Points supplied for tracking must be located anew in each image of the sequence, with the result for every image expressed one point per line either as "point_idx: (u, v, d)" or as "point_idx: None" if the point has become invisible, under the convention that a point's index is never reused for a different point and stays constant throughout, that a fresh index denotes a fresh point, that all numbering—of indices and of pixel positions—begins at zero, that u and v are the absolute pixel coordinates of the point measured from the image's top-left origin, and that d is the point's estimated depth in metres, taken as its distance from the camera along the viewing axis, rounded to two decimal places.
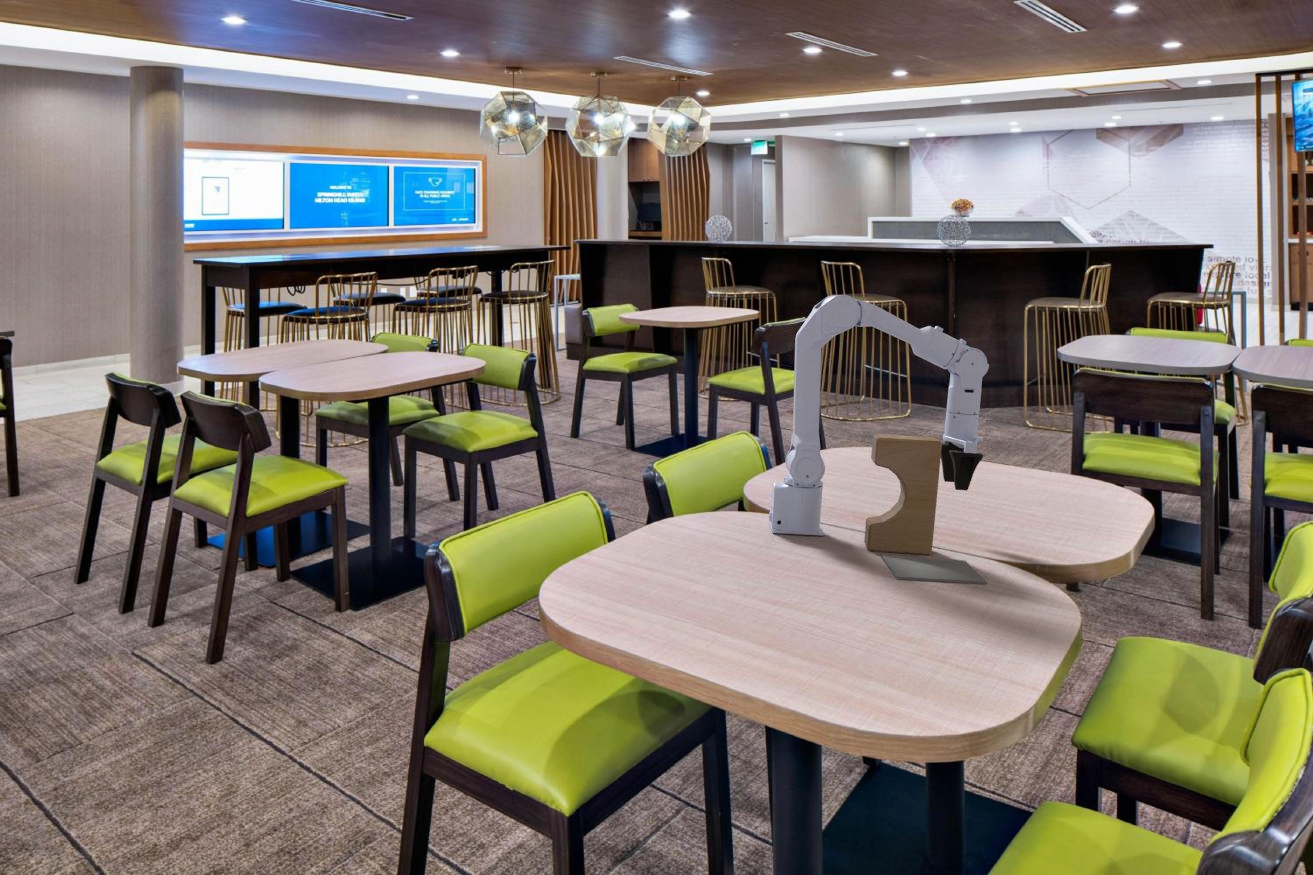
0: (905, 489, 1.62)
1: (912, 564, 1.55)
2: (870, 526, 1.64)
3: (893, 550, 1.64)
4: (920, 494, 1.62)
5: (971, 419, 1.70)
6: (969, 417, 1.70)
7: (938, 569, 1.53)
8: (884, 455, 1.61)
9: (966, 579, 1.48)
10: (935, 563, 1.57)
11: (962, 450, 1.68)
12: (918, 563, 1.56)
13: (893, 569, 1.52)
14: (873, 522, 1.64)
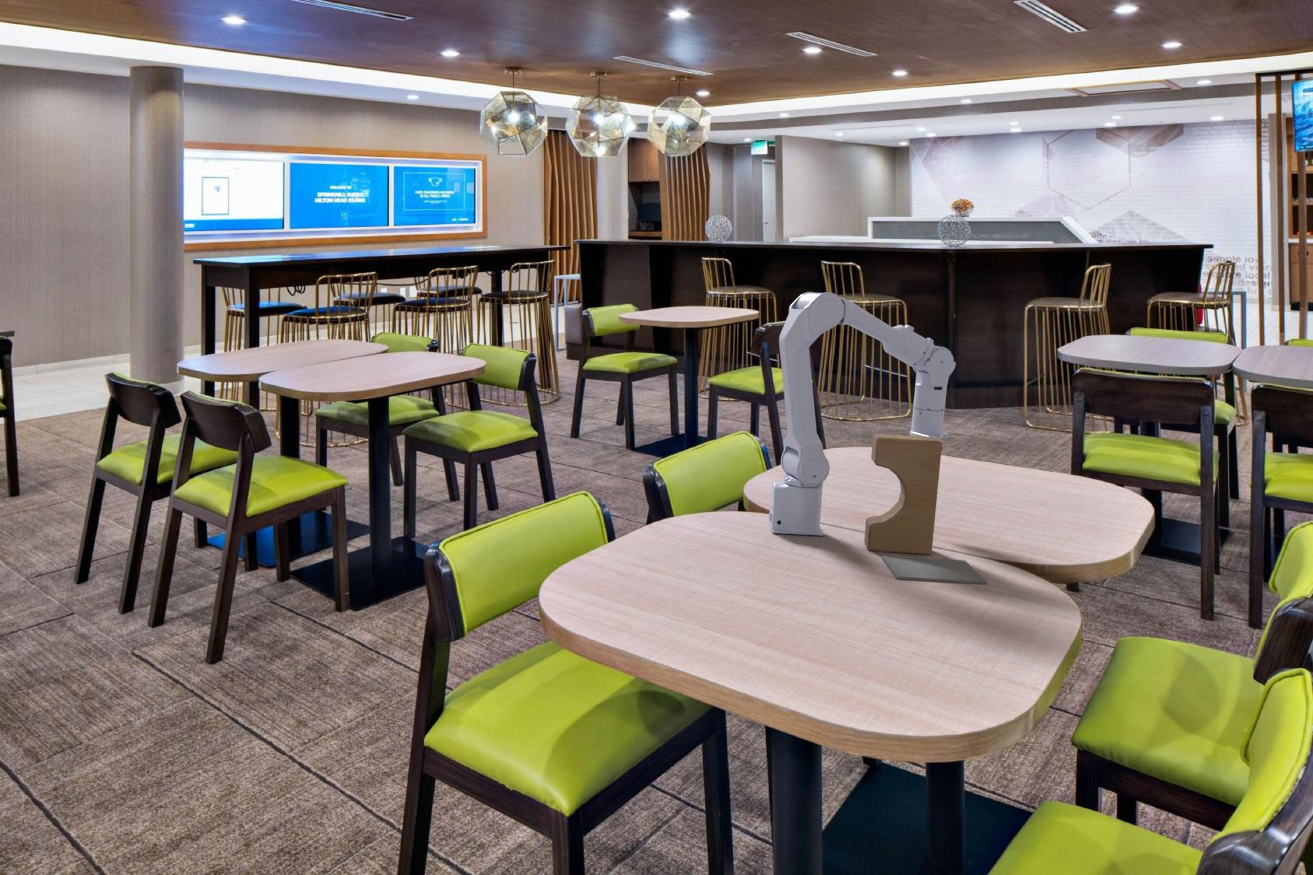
0: (905, 489, 1.62)
1: (912, 564, 1.55)
2: (870, 526, 1.64)
3: (893, 550, 1.64)
4: (920, 495, 1.62)
5: (936, 415, 1.76)
6: (934, 413, 1.76)
7: (938, 569, 1.53)
8: (884, 455, 1.61)
9: (966, 579, 1.48)
10: (935, 563, 1.57)
11: None
12: (918, 563, 1.56)
13: (893, 569, 1.52)
14: (873, 522, 1.64)
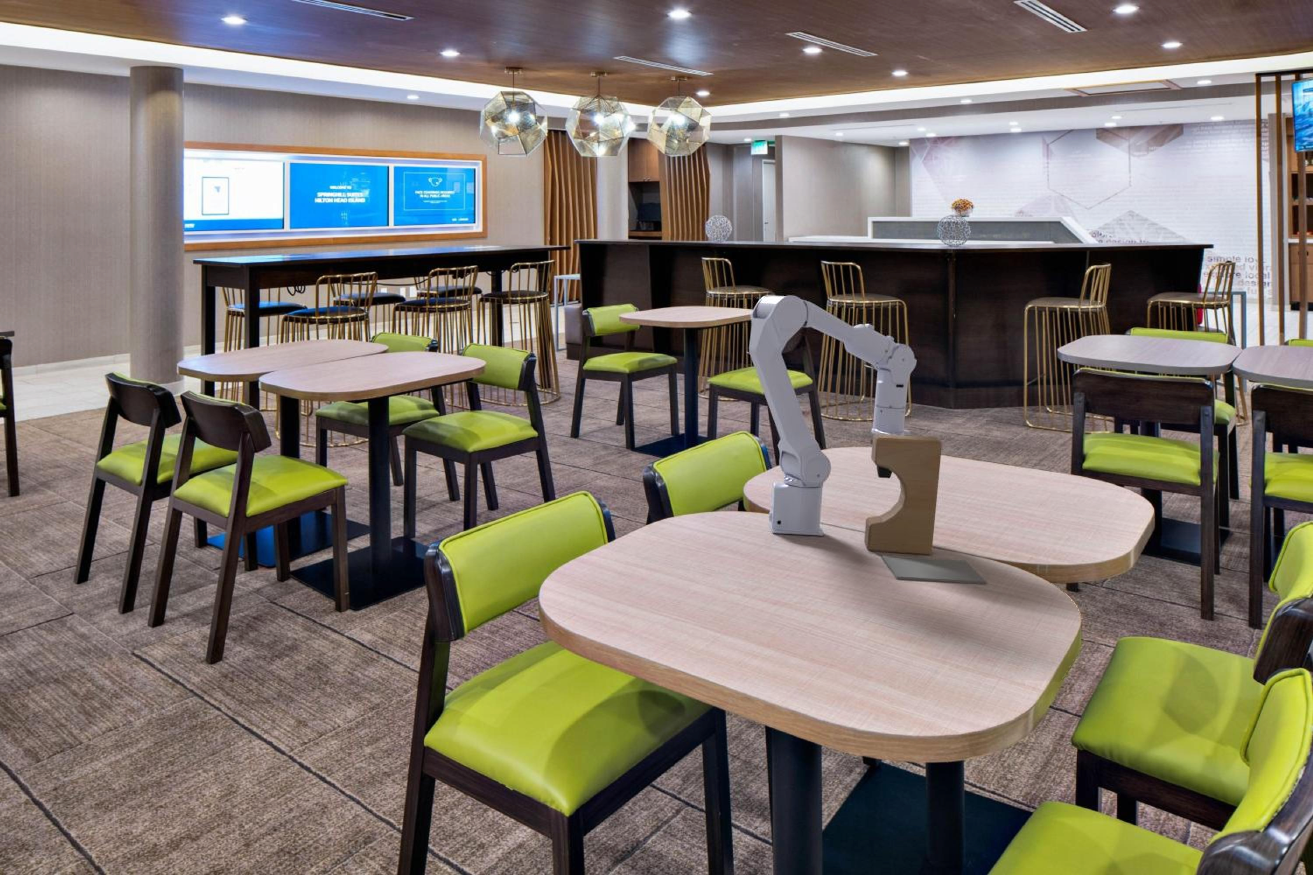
0: (905, 489, 1.62)
1: (912, 564, 1.55)
2: (870, 526, 1.64)
3: (893, 550, 1.64)
4: (920, 495, 1.62)
5: (897, 413, 1.76)
6: (895, 411, 1.76)
7: (938, 569, 1.53)
8: (884, 455, 1.61)
9: (966, 579, 1.48)
10: (935, 563, 1.57)
11: None
12: (918, 563, 1.56)
13: (893, 569, 1.52)
14: (873, 522, 1.64)
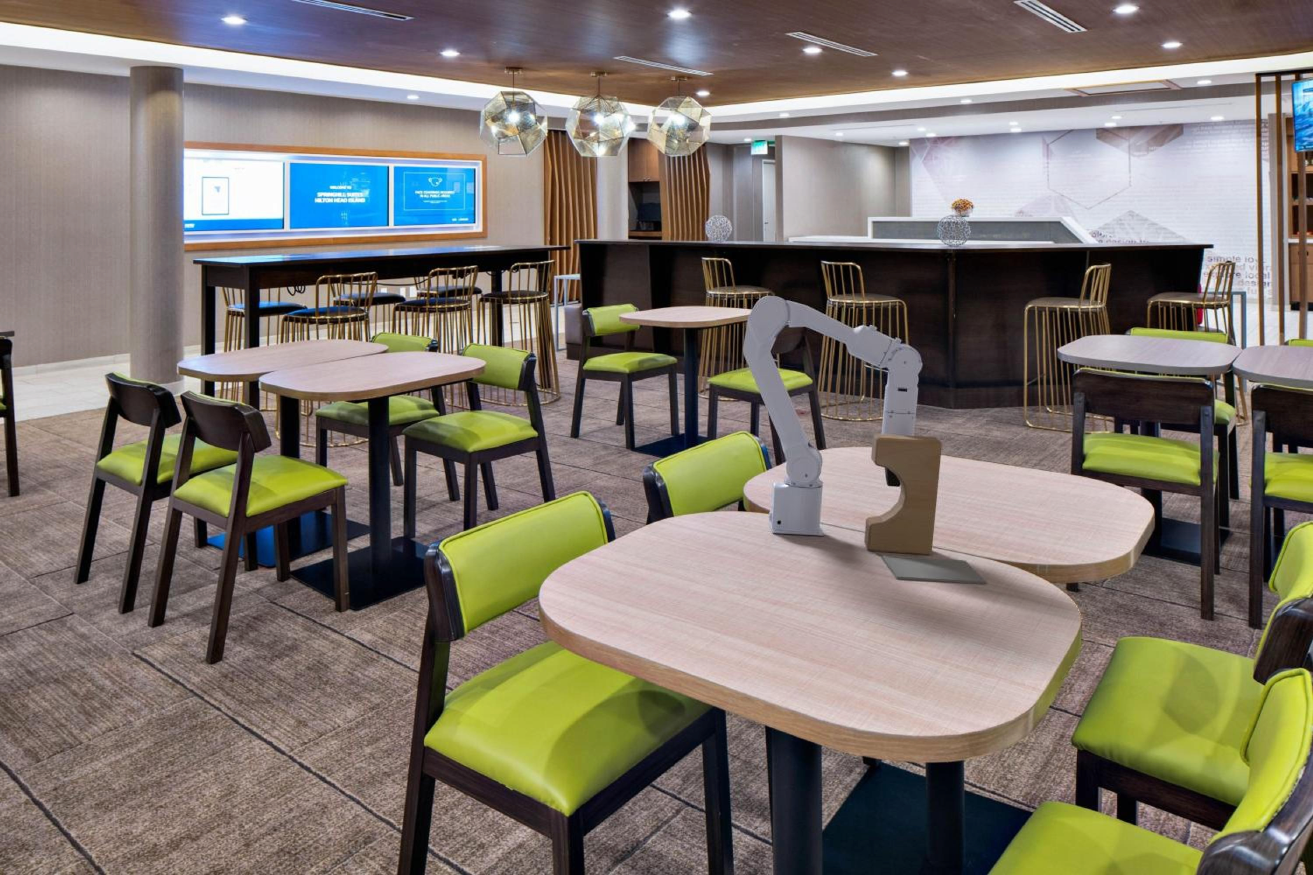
0: (905, 489, 1.62)
1: (912, 564, 1.55)
2: (870, 526, 1.64)
3: (893, 550, 1.64)
4: (920, 495, 1.62)
5: (907, 418, 1.68)
6: (905, 416, 1.68)
7: (938, 569, 1.53)
8: (884, 455, 1.61)
9: (966, 579, 1.48)
10: (935, 563, 1.57)
11: None
12: (918, 563, 1.56)
13: (893, 569, 1.52)
14: (873, 522, 1.64)
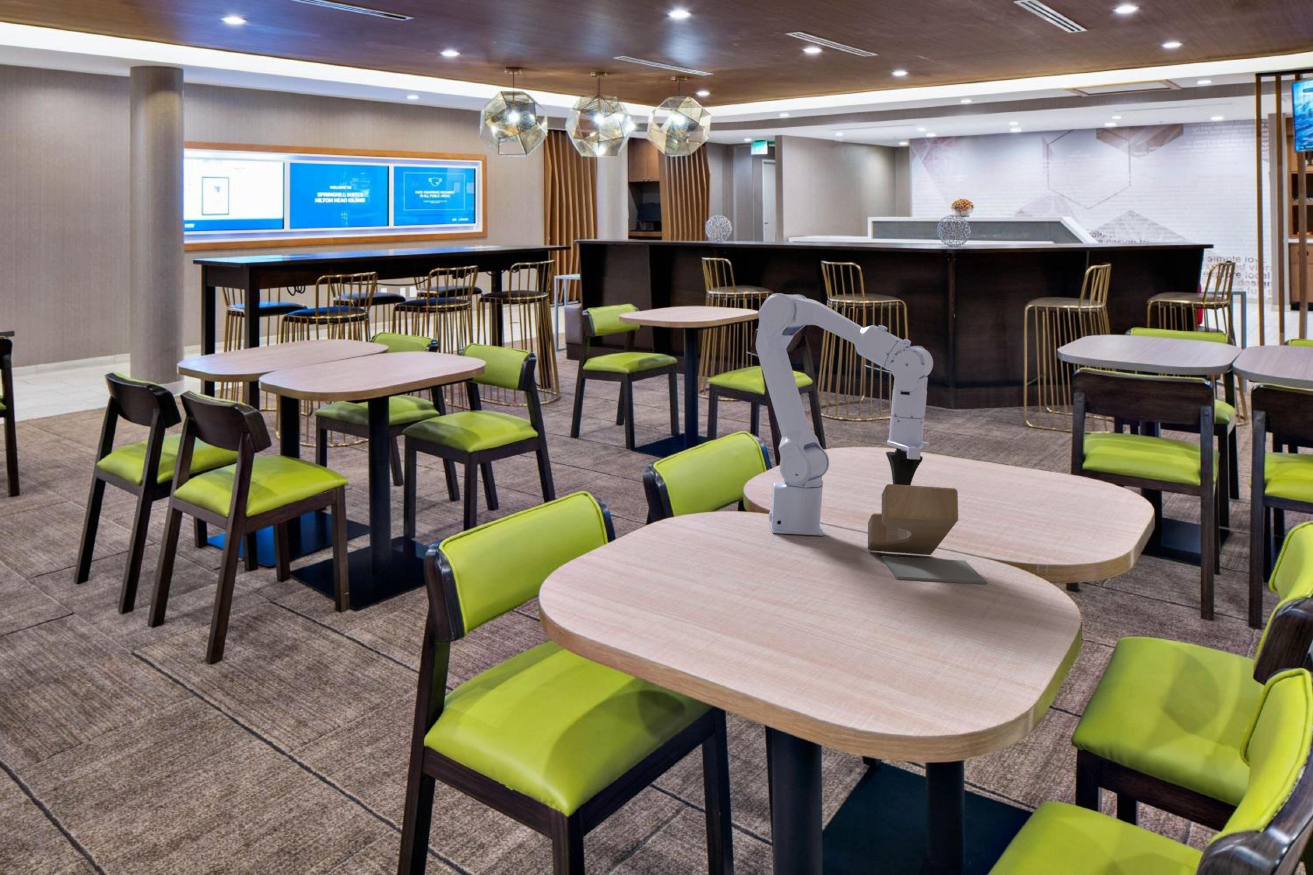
0: (912, 533, 1.53)
1: (912, 564, 1.55)
2: (872, 543, 1.60)
3: (893, 552, 1.63)
4: (927, 537, 1.54)
5: (916, 423, 1.61)
6: (913, 421, 1.61)
7: (938, 569, 1.53)
8: (892, 522, 1.48)
9: (966, 579, 1.48)
10: (935, 563, 1.57)
11: (901, 453, 1.63)
12: (918, 563, 1.56)
13: (893, 569, 1.52)
14: (876, 537, 1.60)
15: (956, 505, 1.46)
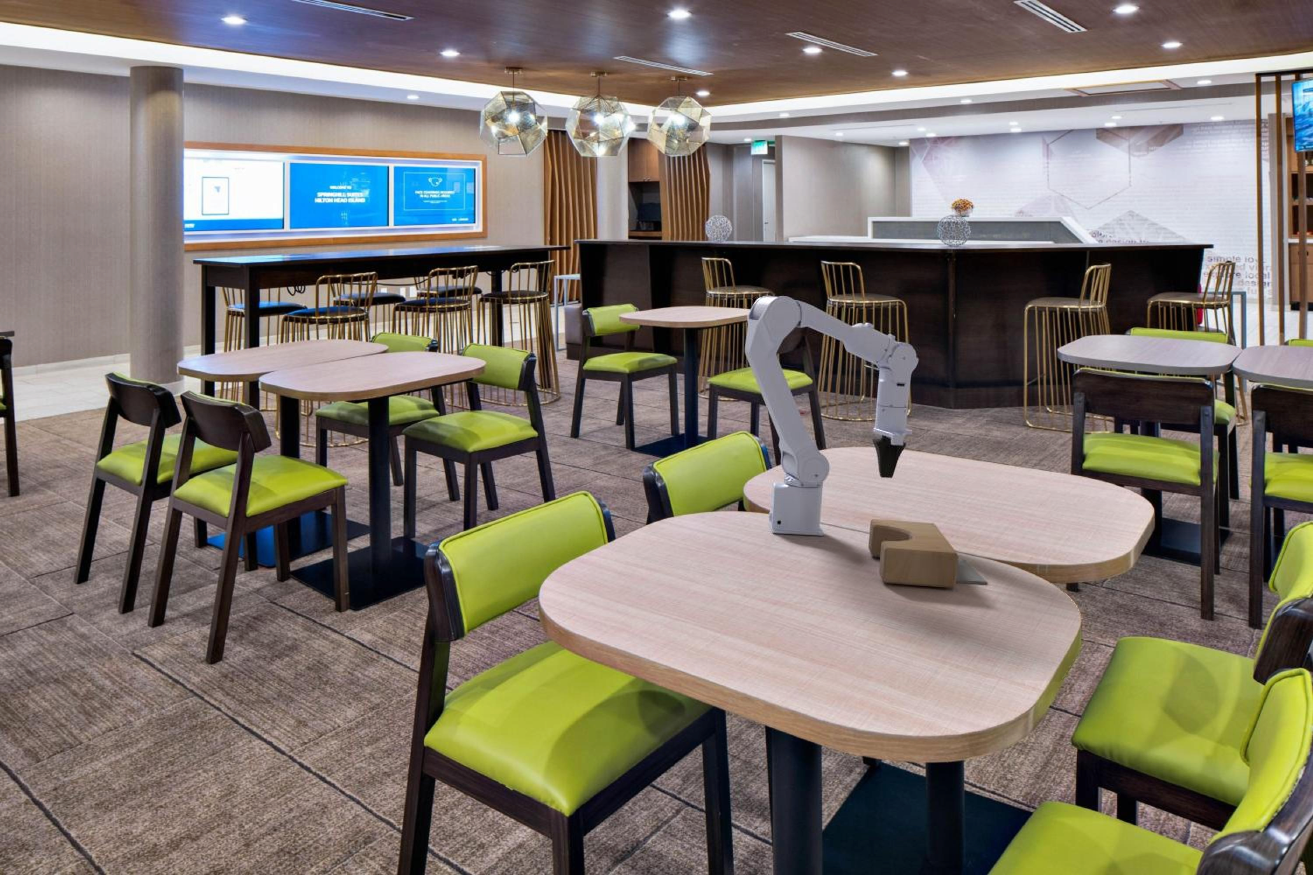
0: None
1: None
2: (872, 554, 1.60)
3: None
4: None
5: (899, 412, 1.74)
6: (897, 410, 1.74)
7: None
8: None
9: (966, 579, 1.48)
10: None
11: (886, 439, 1.76)
12: None
13: None
14: (876, 551, 1.59)
15: (955, 571, 1.43)
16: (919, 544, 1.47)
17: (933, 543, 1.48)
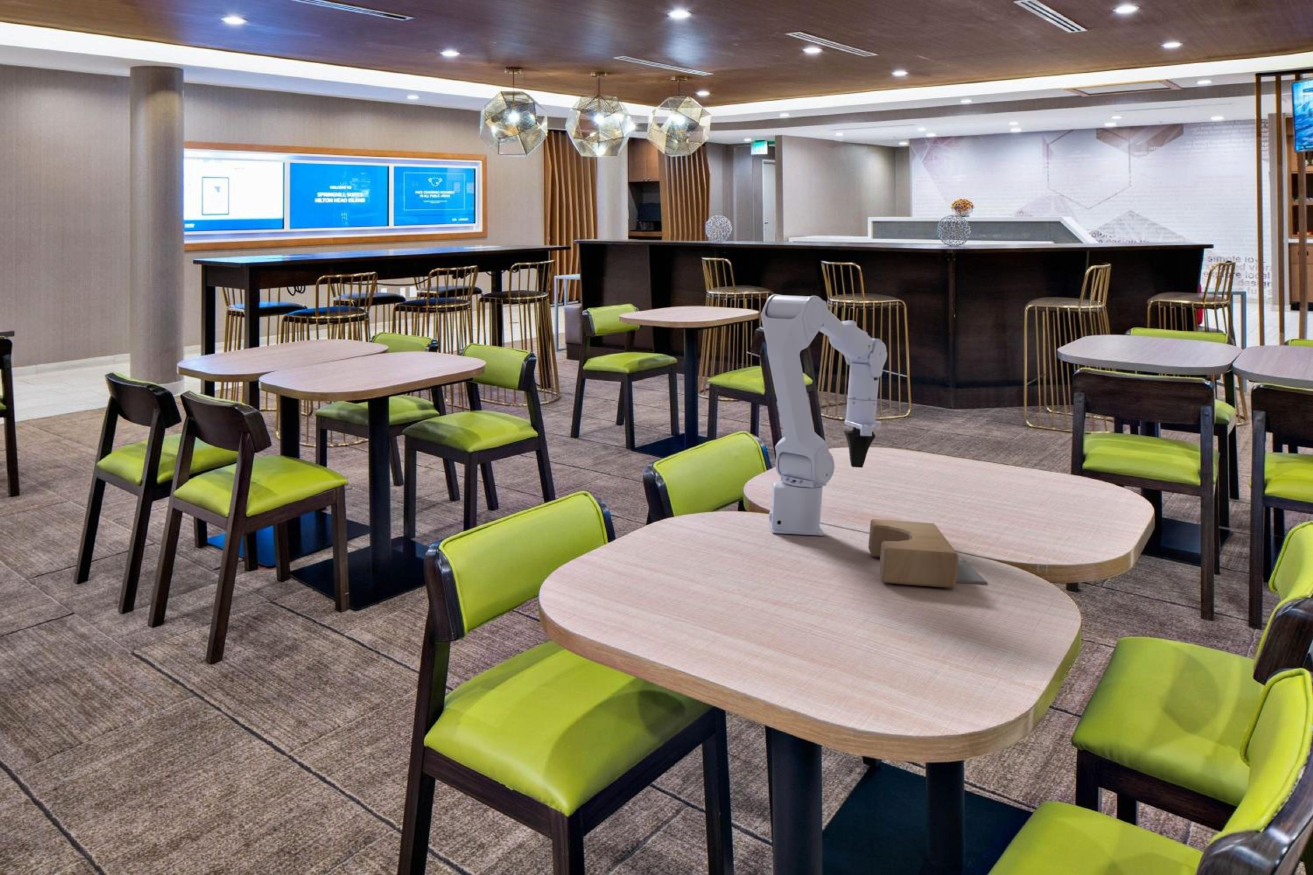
0: None
1: None
2: (872, 554, 1.60)
3: None
4: None
5: (869, 405, 1.83)
6: (867, 403, 1.83)
7: None
8: None
9: (966, 579, 1.48)
10: None
11: (856, 431, 1.85)
12: None
13: None
14: (876, 551, 1.59)
15: (955, 571, 1.43)
16: (919, 544, 1.47)
17: (933, 543, 1.48)
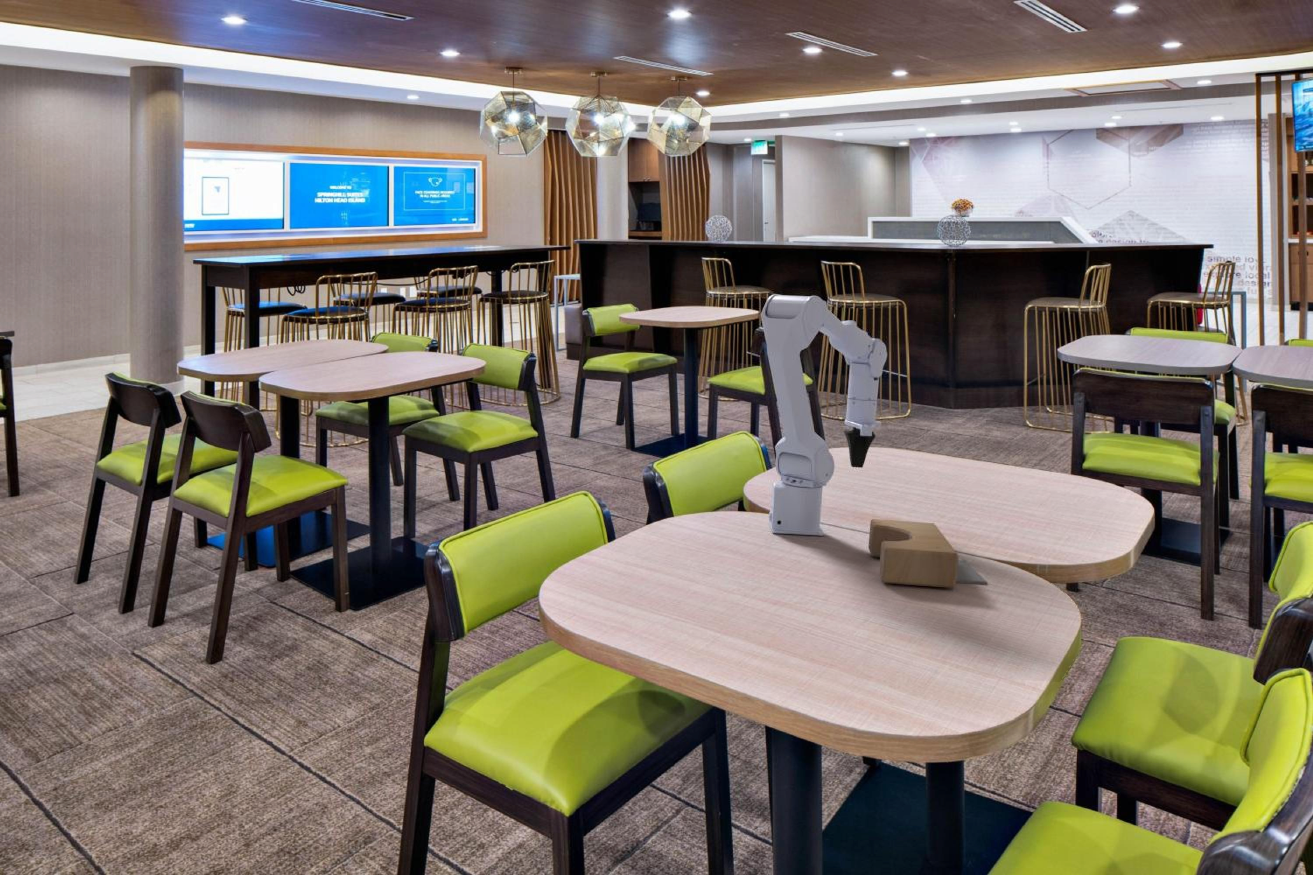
0: None
1: None
2: (872, 554, 1.60)
3: None
4: None
5: (869, 405, 1.83)
6: (867, 403, 1.83)
7: None
8: None
9: (966, 579, 1.48)
10: None
11: (856, 431, 1.85)
12: None
13: None
14: (876, 551, 1.59)
15: (955, 571, 1.43)
16: (919, 544, 1.47)
17: (933, 543, 1.48)
